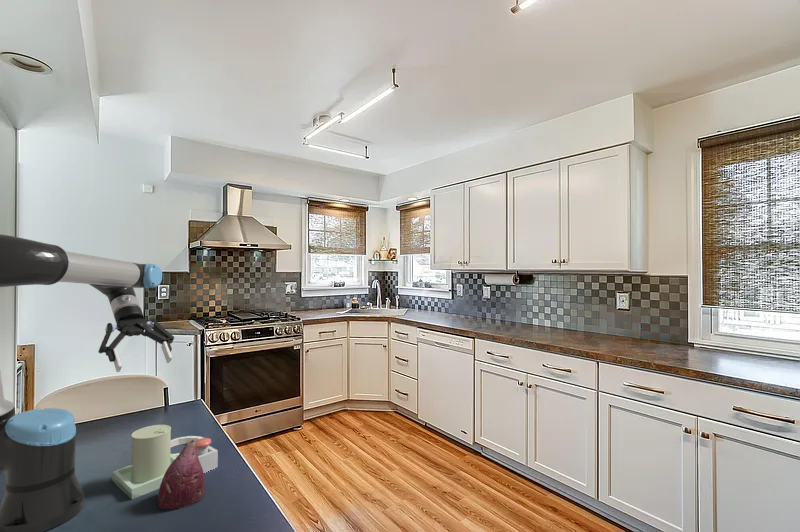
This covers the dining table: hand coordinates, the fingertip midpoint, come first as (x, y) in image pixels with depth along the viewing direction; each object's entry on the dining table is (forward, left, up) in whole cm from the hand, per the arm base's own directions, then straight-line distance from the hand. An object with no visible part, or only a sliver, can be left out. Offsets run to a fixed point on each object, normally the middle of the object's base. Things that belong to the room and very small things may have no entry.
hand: (145, 364), depth 118 cm
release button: (+6, -22, -26) cm, 35 cm away
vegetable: (-3, -32, -28) cm, 42 cm away
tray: (-4, -16, -28) cm, 32 cm away
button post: (+6, -22, -28) cm, 36 cm away
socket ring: (+8, -6, -28) cm, 29 cm away
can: (-4, -16, -27) cm, 31 cm away
